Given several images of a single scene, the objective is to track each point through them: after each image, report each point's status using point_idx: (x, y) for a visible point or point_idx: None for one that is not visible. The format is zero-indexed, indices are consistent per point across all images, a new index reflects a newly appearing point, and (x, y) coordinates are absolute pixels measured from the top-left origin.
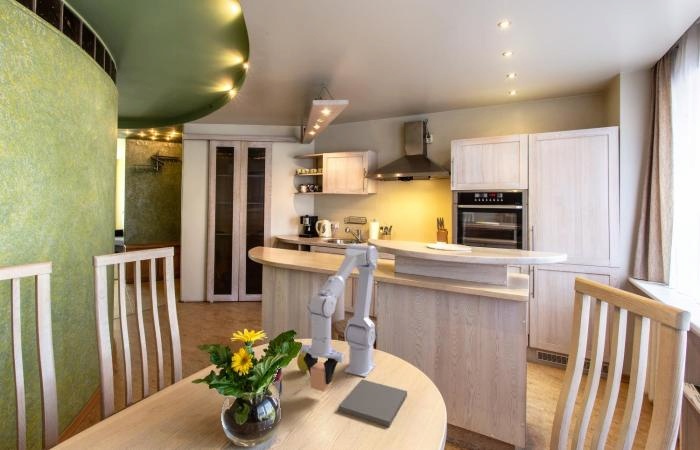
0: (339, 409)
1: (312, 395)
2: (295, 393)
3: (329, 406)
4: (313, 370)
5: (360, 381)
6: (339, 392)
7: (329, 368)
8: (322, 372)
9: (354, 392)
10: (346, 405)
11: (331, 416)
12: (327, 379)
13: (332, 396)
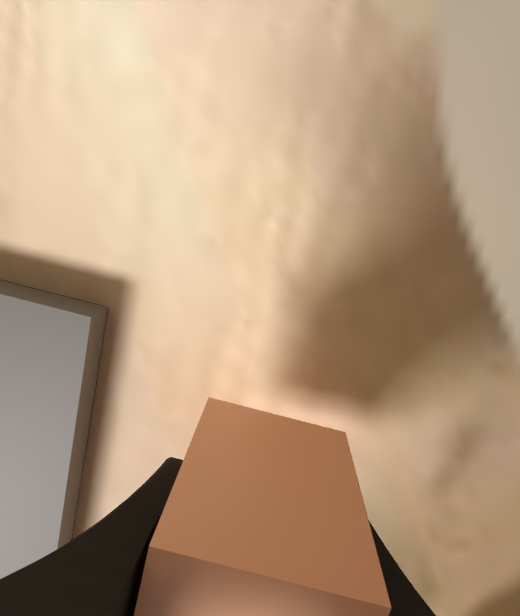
0: (94, 308)
1: None
2: (463, 439)
3: (183, 343)
4: (333, 567)
5: None
6: None
7: (9, 584)
8: (182, 534)
9: (39, 485)
10: (38, 332)
11: (134, 241)
12: (152, 482)
13: None
